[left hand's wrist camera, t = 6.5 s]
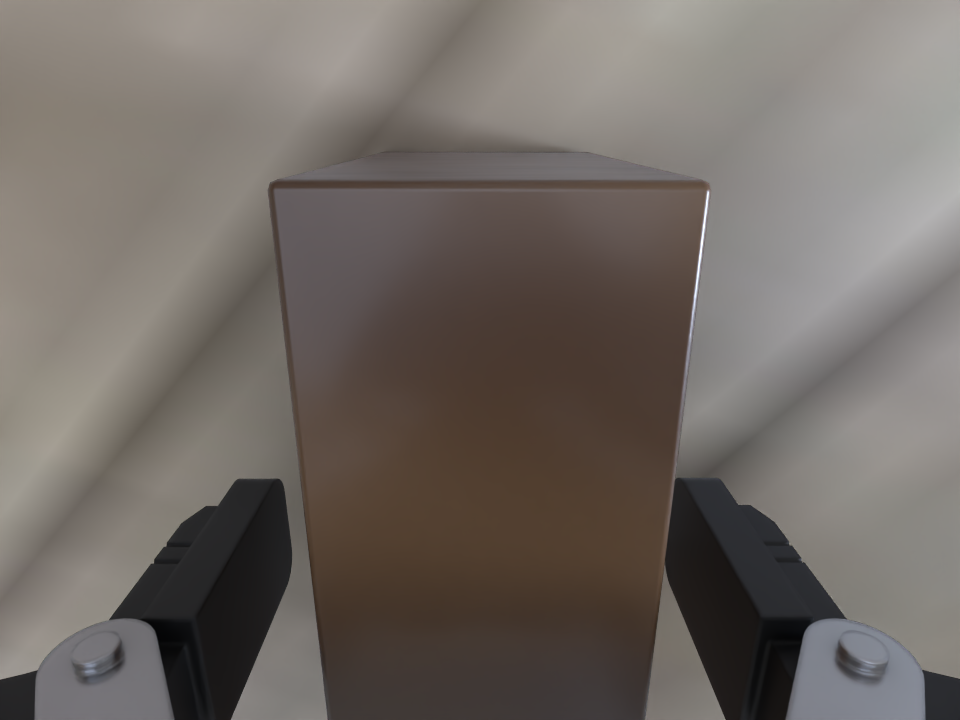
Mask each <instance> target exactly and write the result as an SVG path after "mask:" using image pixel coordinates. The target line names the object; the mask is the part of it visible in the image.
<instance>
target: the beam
mask: <svg viewBox="0 0 960 720" xmlns="http://www.w3.org/2000/svg"><path fill="white" fill-rule="evenodd" d="M268 196H269V205H270V214H271V223H272V232H273V241H274V249H275V258H276V267H277V276H278V285H279V293H280V302H281V311H282V320H283V329H284V338H285V346H286V355H287V364H288V373H289V382H290V391H291V399H292V408H293V417H294V426H295V435H296V444H297V452H298V461H299V470H300V479H301V488H302V497H303V505H304V514H305V523H306V532H307V541H308V550H309V558H310V567H311V576H312V585H313V594H314V603H315V611H316V620H317V629H318V638H319V647H320V656H321V664H322V673H323V682H324V691H325V700H326V709H327V717H328V720H645V716H646V708H647V700H648V692H649V684H650V676H651V668H652V660H653V652H654V644H655V636H656V628H657V620H658V612H659V604H660V596H661V588H662V580H663V572H664V564H665V556H666V548H667V540H668V532H669V524H670V516H671V508H672V500H673V492H674V484H675V476H676V468H677V460H678V452H679V444H680V436H681V428H682V420H683V412H684V404H685V396H686V388H687V380H688V372H689V364H690V356H691V348H692V340H693V332H694V324H695V316H696V308H697V300H698V292H699V284H700V276H701V268H702V260H703V252H704V244H705V236H706V228H707V220H708V212H709V204H710V196H711V189H710V185H709V183H707V182H705V181H703V180H700V179H696V178H692V177H688V176H683V175H679V174H675V173H671V172H667V171H663V170H658V169H654V168H650V167H646V166H642V165H638V164H634V163H629V162H625V161H621V160H617V159H613V158H609V157H605V156H600V155H596V154H592V153H588V152H382V153H378V154H374V155H370V156H367V157H363V158H359V159H355V160H351V161H347V162H343V163H339V164H336V165H332V166H328V167H324V168H320V169H316V170H312V171H308V172H304V173H301V174H297V175H293V176H289V177H285V178H281V179H277V180H275V181H273V182H271V183H270V185H269V188H268Z"/></svg>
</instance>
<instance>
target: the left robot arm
mask: <svg viewBox="0 0 960 720" xmlns="http://www.w3.org/2000/svg"><path fill="white" fill-rule="evenodd" d="M291 565H292V547H291V539H290V531H289V523H288V515H287V507H286V499H285V491H284V486H283V483H282V481H281V480H280V479H238V480H236V481H235V482H234V484H233V485H232V486H231V488H230V489H229V491H228V492H227V494H226V495H225V497H224V498H223V500H222V501H221V502H220V504H219V505H218V506H206V507H204V508H203V509H201V510H200V511H198V512H197V513H196V514H194V515H193V516H191V517H190V518H188V519H187V520H186V521H184V522H183V523H182V524H181V525H180V526H179V528H178V529H177V530H176V532H175V533H174V534H173V536H172V537H171V538H170V539H169V541H168V542H167V547H163V549H162V550H161V551H160V553H159V554H158V555H157V557H156V558H155V559H154V564H151V565H150V566H149V567H148V569H147V570H146V571H145V573H144V574H143V575H142V577H141V578H140V579H139V581H138V582H137V583H136V585H135V586H134V587H133V589H132V590H131V591H130V593H129V594H128V595H127V597H126V598H125V599H124V601H123V602H122V603H121V605H120V606H119V607H118V609H117V610H116V611H115V613H114V614H113V615H112V617H111V618H110V619H109V621H104V622H101V623H98V624H95V625H92V626H90V627H87V628H85V629H83V630H81V631H79V632H77V633H75V634H73V635H72V636H70V637H68V638H67V639H65V640H64V641H63V642H61V643H60V644H59V645H58V646H56V647H55V648H54V649H53V650H52V651H51V652H50V653H49V654H48V655H47V657H46V658H45V659H44V660H43V662H42V663H41V665H40V667H39V669H38V670H37V671H33V672H30V673H26V674H22V675H18V676H14V677H10V678H6V679H1V680H0V720H231V718H232V715H233V713H234V711H235V708H236V706H237V703H238V701H239V699H240V696H241V694H242V692H243V689H244V687H245V684H246V682H247V680H248V677H249V675H250V673H251V670H252V668H253V665H254V663H255V661H256V658H257V656H258V653H259V651H260V649H261V646H262V644H263V642H264V639H265V637H266V634H267V632H268V630H269V627H270V625H271V623H272V620H273V618H274V615H275V613H276V611H277V608H278V606H279V604H280V601H281V599H282V596H283V594H284V592H285V589H286V587H287V584H288V581H289V577H290V573H291ZM665 565H666V572H667V577H668V581H669V584H670V586H671V589H672V591H673V594H674V596H675V598H676V601H677V603H678V606H679V608H680V610H681V613H682V615H683V618H684V620H685V622H686V625H687V627H688V630H689V632H690V635H691V637H692V639H693V642H694V644H695V647H696V649H697V651H698V654H699V656H700V659H701V661H702V663H703V666H704V668H705V671H706V673H707V676H708V678H709V680H710V683H711V685H712V688H713V690H714V692H715V695H716V697H717V700H718V702H719V704H720V707H721V709H722V712H723V714H724V717H725V719H726V720H960V679H958V678H953V677H949V676H945V675H941V674H937V673H932V672H928V671H925V670H922V669H921V667H920V665H919V663H918V662H917V660H916V659H915V658H914V657H913V655H912V654H911V653H910V652H909V651H908V650H907V649H906V648H905V647H904V646H902V645H901V644H900V643H899V642H897V641H896V640H895V639H893V638H892V637H890V636H888V635H887V634H885V633H883V632H881V631H879V630H877V629H875V628H873V627H870V626H868V625H865V624H862V623H859V622H856V621H851V620H847V619H846V618H845V616H844V615H843V614H842V612H841V611H840V610H839V608H838V607H837V606H836V604H835V603H834V601H833V600H832V599H831V597H830V596H829V595H828V593H827V592H826V591H825V589H824V588H823V587H822V585H821V584H820V583H819V581H818V580H817V579H816V577H815V576H814V575H813V573H812V572H811V571H810V569H809V568H808V567H807V565H806V564H805V563H802V561H801V557H800V556H799V554H798V553H797V552H796V550H795V549H794V548H793V546H789V541H788V540H787V538H786V537H785V536H784V534H783V533H782V532H781V530H780V529H779V528H778V526H777V525H776V524H775V522H774V521H772V520H771V519H769V518H768V517H766V516H765V515H764V514H762V513H761V512H759V511H758V510H757V509H755V508H754V507H752V506H751V505H738V504H737V503H736V501H735V500H734V498H733V497H732V495H731V494H730V492H729V491H728V489H727V488H726V486H725V485H724V483H723V482H722V481H721V480H720V479H719V478H677V479H676V480H675V484H674V492H673V500H672V508H671V516H670V524H669V532H668V540H667V548H666V556H665Z"/></svg>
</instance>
